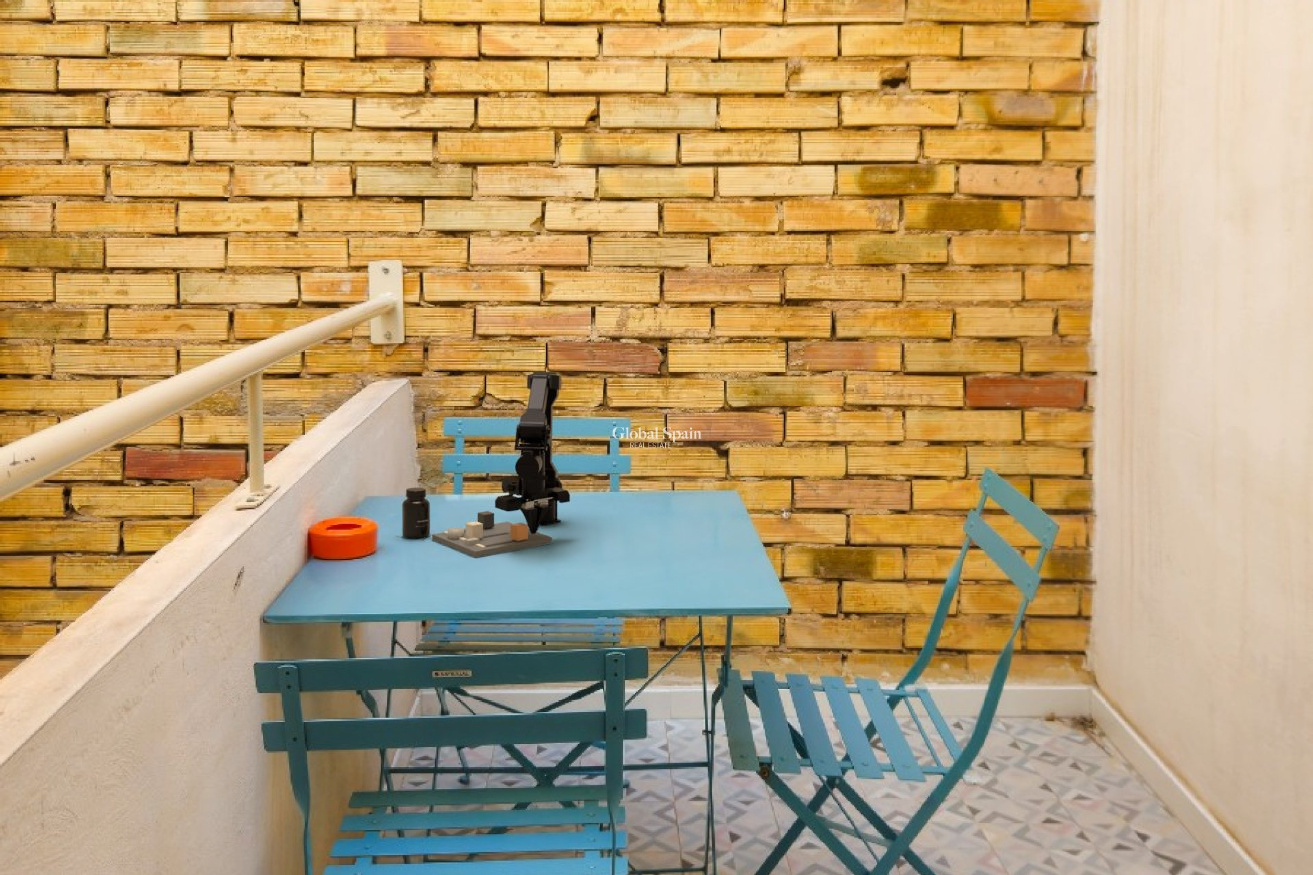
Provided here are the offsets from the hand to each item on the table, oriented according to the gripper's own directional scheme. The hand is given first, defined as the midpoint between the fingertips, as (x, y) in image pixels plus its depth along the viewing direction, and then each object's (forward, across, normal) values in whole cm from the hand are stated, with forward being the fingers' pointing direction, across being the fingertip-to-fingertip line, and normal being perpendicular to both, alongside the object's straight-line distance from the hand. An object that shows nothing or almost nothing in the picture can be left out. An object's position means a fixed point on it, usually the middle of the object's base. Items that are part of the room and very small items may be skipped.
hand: (533, 533), depth 302 cm
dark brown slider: (+1, +4, -15) cm, 16 cm away
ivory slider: (+1, +12, -8) cm, 14 cm away
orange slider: (+1, +4, 0) cm, 4 cm away
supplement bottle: (+3, +19, -24) cm, 30 cm away
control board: (+3, +7, -8) cm, 11 cm away
